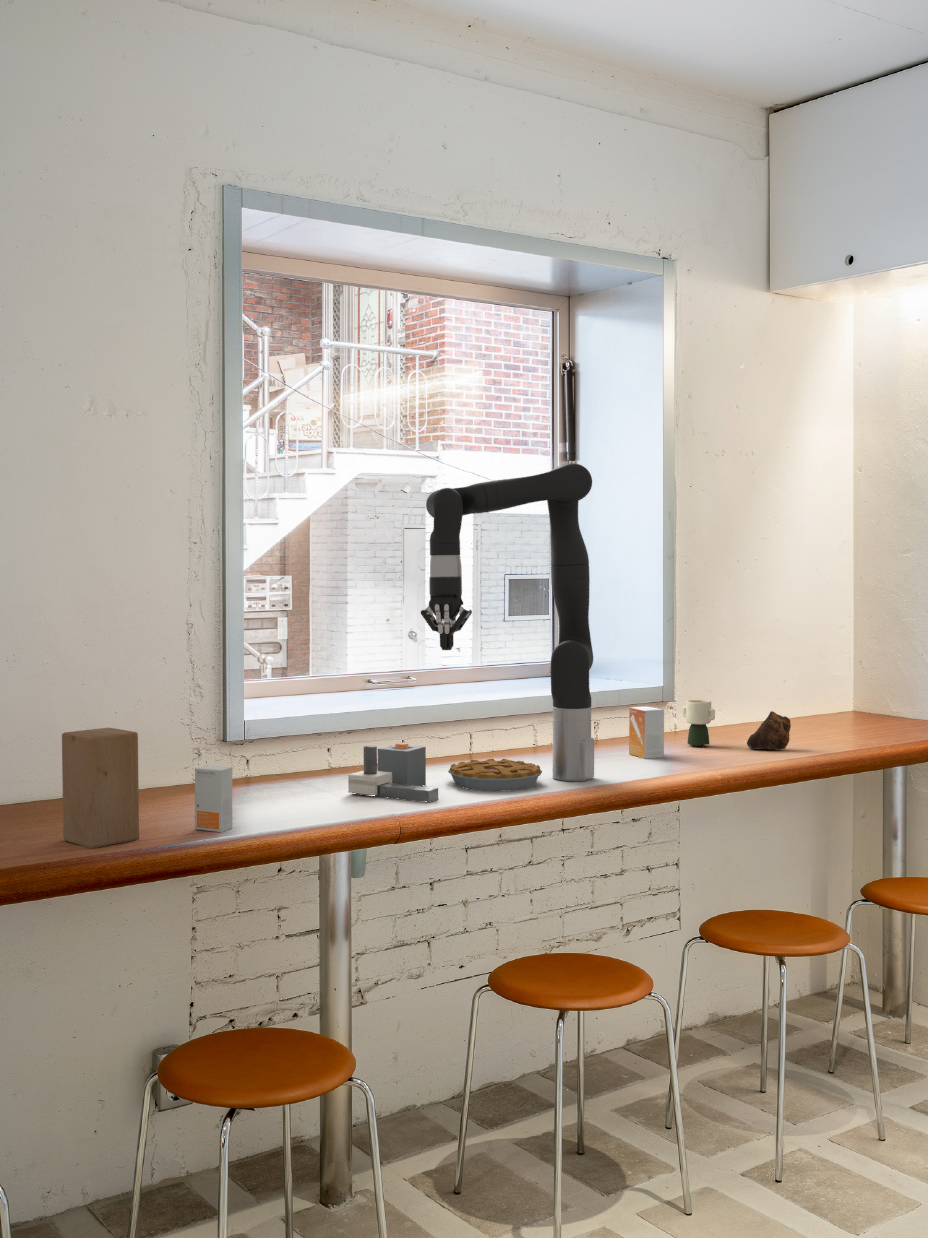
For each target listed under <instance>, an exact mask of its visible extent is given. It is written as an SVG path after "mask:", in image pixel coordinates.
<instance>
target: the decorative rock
mask: <svg viewBox="0 0 928 1238" xmlns="http://www.w3.org/2000/svg"><path fill="white" fill-rule="evenodd" d="M791 727H792V724H791V719H790V718H789V717H787V716H782V715H781V714H778V713H776V712H775V711H774V710H773V711H770V712H769V714H768V716H766V718H765V719H764V720H763V722H761V724H760V725H759V727H758V728H757V730H756V731H755V732H754V733H752V734H751V735H750V736H749V738H748V739H747V741H746V745H747V747H748V748H749V749H750V748H752V749H751V750H754V749H755V748H757V749H761V750H765V749H775V750H779V749H780V750H785V749H787V746H788V745H789V742H790V732H791Z"/></svg>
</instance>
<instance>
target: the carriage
mask: <svg viewBox="0 0 928 1238" xmlns="http://www.w3.org/2000/svg"><path fill="white" fill-rule="evenodd" d="M347 776H348V781H347V782H348V783H347V784H348V787H347V788H348V793H349V794H350V793H351V794H352V793H358V794H367V795H377V786H378V785H381V784H384V783H392V772H383V771H378V746H377V745H364V746H363V770H361V771H357V772H353V773H350V774H348V775H347Z"/></svg>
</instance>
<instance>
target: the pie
mask: <svg viewBox="0 0 928 1238" xmlns="http://www.w3.org/2000/svg"><path fill="white" fill-rule="evenodd" d="M447 772H448V774H450V775H451V778H452V779H453V782H454V783H455V785H457V786H458V787H459V786H460V788H463V787H464V789H466V788H468V789H467V790H471V789H473V791H478V790H483V791H482V792H503V791H502V790H510V791H518V790H524V789H525V790H526V789H529V788H533V787H535V786H536V784H537V780H538V778H539V777H540V776H541V774H542V773H543V770H541V766H540V765H538V764H537V765H536V764H535V763H531V762H528V763H527V762H525V761H523V760H517V761H515V760H512V759H506V758H503V759H501V760H495V759H494V758H490V759H486V760H478V759H477V760H476V759H471V760H469V761H467V762H465V761H461V762H458V763H457V764H456V763H453V764H451V765H450V767H449V770H448V771H447Z"/></svg>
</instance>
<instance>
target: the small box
mask: <svg viewBox="0 0 928 1238" xmlns="http://www.w3.org/2000/svg"><path fill="white" fill-rule="evenodd" d="M628 708H629V713H628V714H629V715H628V716H629V717H628V718H629V723H628V724H629V727H628V729H629V730H628V732H629V733H628V734H629V735H628V738H629V739H628V754H629V755H632V756H634V757H635V756H636V757H638V758H641V759H645V760H646V759H659V758H660V759H661V758H664V757H665V709H661V708H657V707H652V706H647V705H646V706H632V707H631V706H630V707H628Z"/></svg>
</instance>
